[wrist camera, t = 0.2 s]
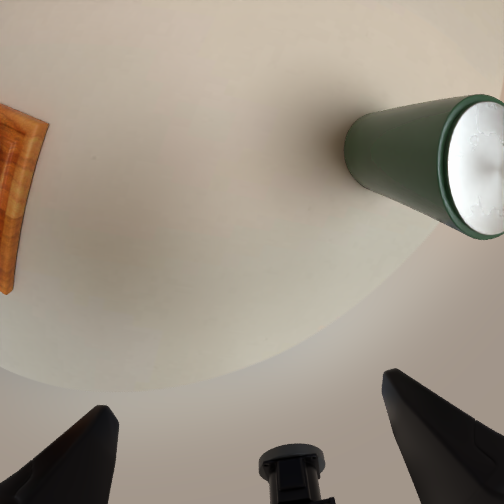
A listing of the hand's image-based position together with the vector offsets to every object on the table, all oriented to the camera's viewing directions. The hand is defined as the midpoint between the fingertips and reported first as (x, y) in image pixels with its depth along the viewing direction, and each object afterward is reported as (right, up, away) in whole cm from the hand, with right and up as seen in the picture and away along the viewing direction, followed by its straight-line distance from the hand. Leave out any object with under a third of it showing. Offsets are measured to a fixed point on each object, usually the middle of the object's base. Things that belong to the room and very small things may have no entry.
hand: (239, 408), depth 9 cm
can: (+10, +12, +12) cm, 20 cm away
